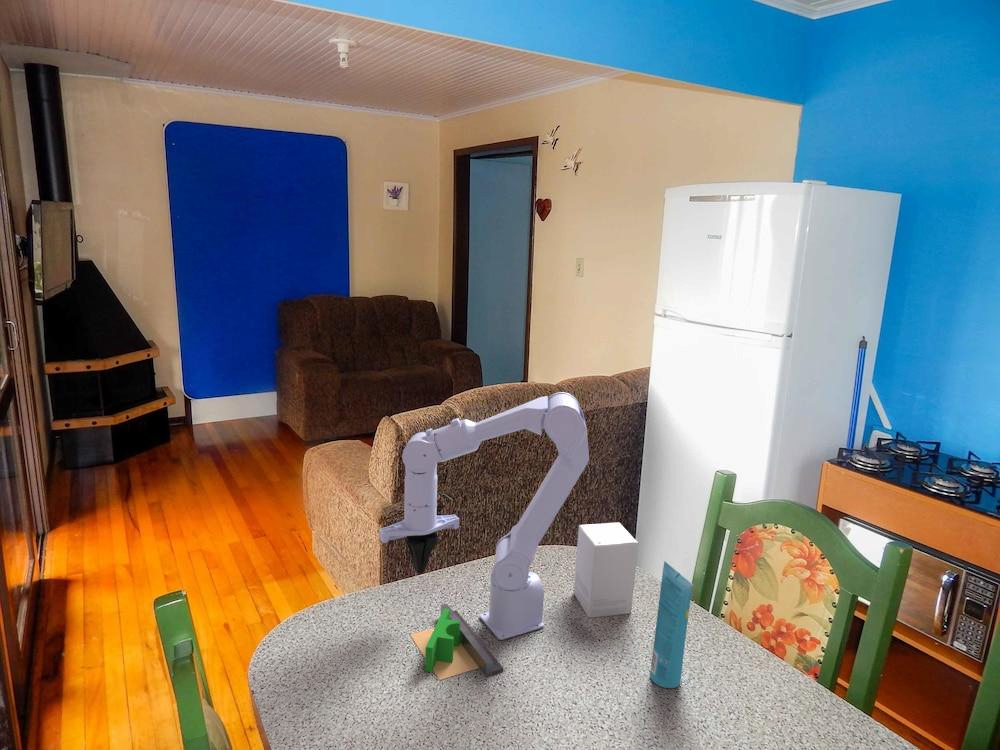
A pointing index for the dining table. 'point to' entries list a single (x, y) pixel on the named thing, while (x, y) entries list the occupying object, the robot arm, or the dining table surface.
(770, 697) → the dining table surface
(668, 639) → the tube
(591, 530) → the supplement box
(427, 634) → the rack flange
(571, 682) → the dining table surface
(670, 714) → the dining table surface
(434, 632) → the pipe clamp
